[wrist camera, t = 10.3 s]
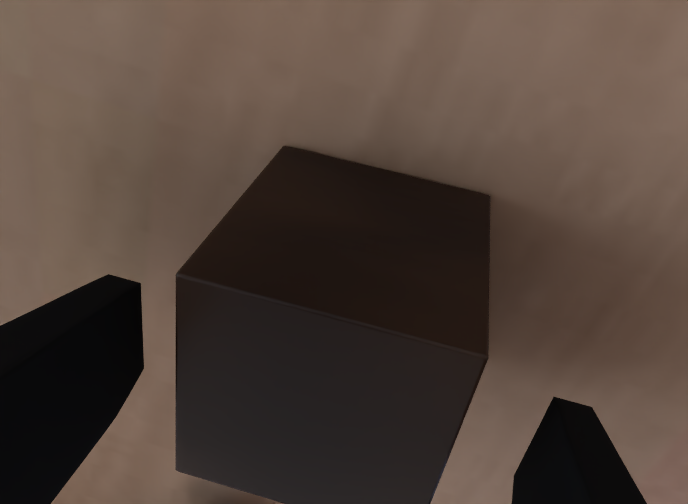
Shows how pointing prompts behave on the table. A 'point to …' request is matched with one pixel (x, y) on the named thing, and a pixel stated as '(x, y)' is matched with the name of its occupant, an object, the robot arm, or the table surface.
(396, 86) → the table surface
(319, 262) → the walnut block
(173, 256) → the table surface
